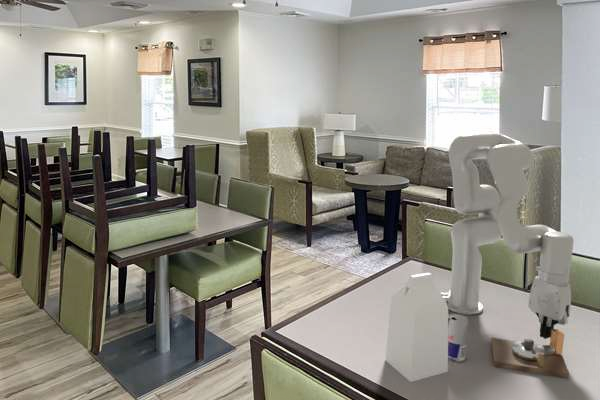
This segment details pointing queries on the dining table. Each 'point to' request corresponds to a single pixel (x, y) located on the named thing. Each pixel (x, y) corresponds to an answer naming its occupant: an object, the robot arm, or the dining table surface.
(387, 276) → the dining table surface
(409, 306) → the milk
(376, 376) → the dining table surface
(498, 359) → the walnut board
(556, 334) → the crank handle
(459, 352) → the energy drink
